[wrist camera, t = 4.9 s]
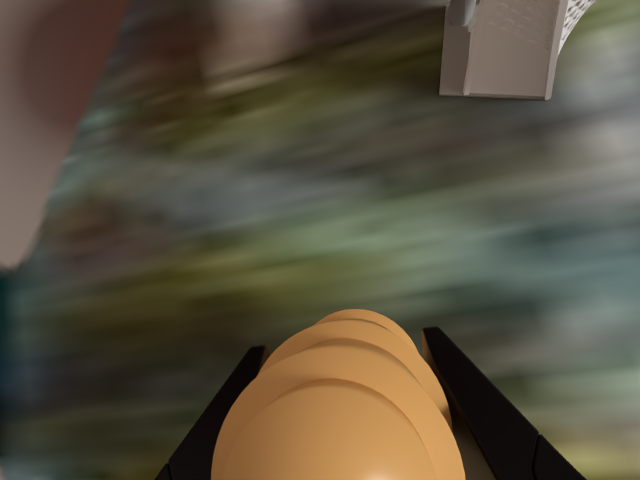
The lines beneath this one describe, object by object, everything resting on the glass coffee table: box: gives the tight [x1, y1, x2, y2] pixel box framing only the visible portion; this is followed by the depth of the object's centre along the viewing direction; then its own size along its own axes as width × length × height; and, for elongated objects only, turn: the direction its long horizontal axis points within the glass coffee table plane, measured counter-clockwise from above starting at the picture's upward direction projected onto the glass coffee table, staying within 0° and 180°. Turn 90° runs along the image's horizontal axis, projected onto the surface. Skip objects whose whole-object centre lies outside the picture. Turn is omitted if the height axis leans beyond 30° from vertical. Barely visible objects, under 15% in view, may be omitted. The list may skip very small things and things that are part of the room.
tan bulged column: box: [211, 309, 466, 480], centre depth 10 cm, size 5×5×12 cm
